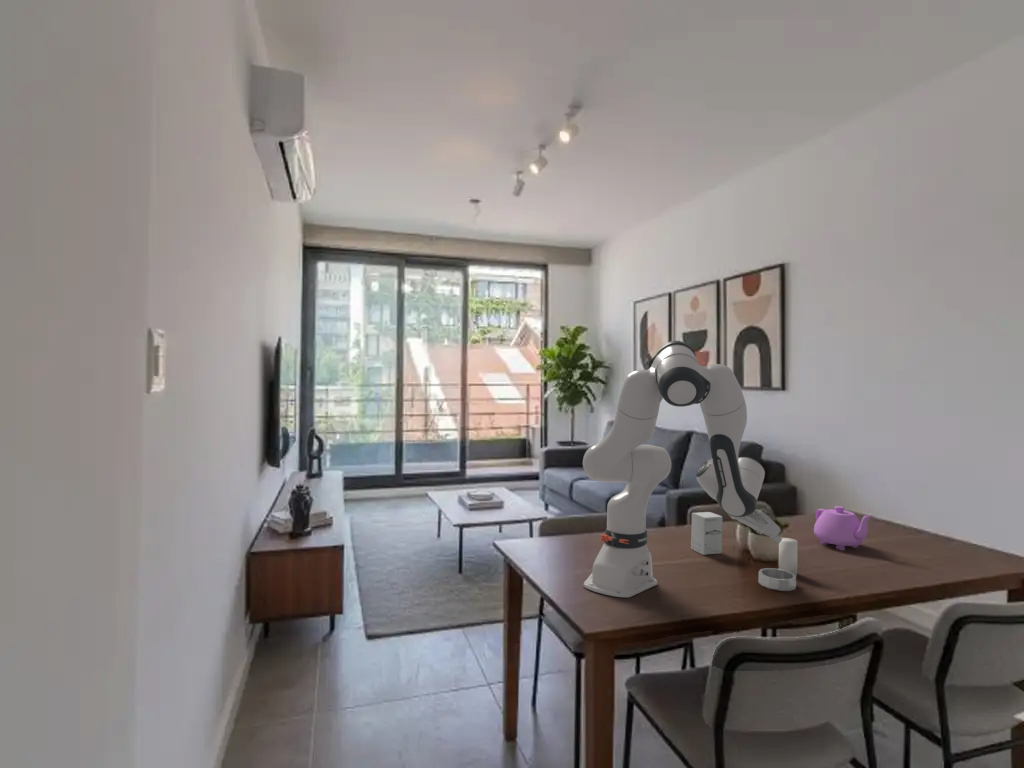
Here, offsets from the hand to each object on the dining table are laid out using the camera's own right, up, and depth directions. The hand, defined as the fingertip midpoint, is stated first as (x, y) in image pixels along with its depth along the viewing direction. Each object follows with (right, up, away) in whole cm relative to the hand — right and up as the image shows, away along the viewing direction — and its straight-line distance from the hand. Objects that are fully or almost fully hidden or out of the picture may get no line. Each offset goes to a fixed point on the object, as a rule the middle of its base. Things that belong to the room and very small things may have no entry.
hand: (770, 536), depth 164 cm
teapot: (+39, -12, +30) cm, 51 cm away
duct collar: (-2, -11, -8) cm, 14 cm away
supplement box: (-11, -11, +22) cm, 27 cm away
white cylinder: (+6, -11, +2) cm, 13 cm away
